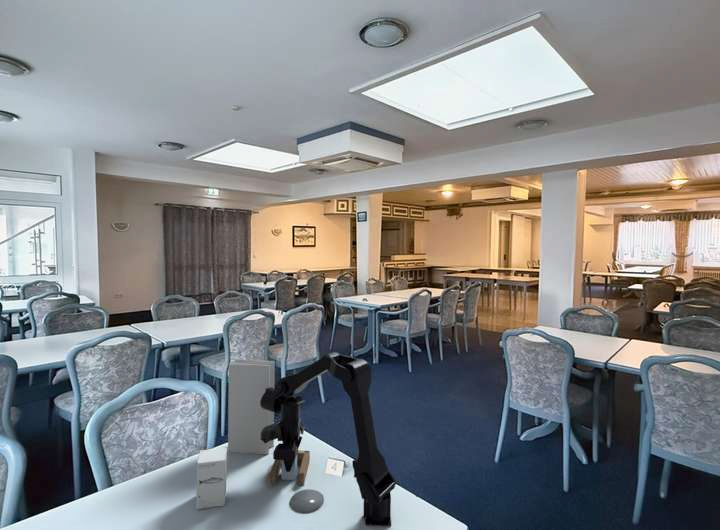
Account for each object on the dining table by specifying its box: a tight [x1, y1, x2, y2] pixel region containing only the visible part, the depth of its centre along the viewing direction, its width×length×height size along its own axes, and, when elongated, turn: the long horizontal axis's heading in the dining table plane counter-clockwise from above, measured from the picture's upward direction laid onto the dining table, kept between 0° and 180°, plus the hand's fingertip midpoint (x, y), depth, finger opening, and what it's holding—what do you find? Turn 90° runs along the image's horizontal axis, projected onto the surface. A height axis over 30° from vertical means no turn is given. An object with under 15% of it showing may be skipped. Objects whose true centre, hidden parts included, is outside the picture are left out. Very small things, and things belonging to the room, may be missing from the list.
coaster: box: [290, 488, 325, 513], centre depth 107 cm, size 9×9×1 cm
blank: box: [281, 456, 298, 481], centre depth 118 cm, size 4×4×8 cm
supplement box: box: [195, 447, 228, 511], centre depth 106 cm, size 7×7×13 cm
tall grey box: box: [227, 359, 276, 455], centre depth 134 cm, size 14×6×30 cm, turn 84°
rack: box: [269, 450, 311, 486], centre depth 120 cm, size 10×13×4 cm
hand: (289, 467), depth 118 cm, fingers closed on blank, 4 cm apart
